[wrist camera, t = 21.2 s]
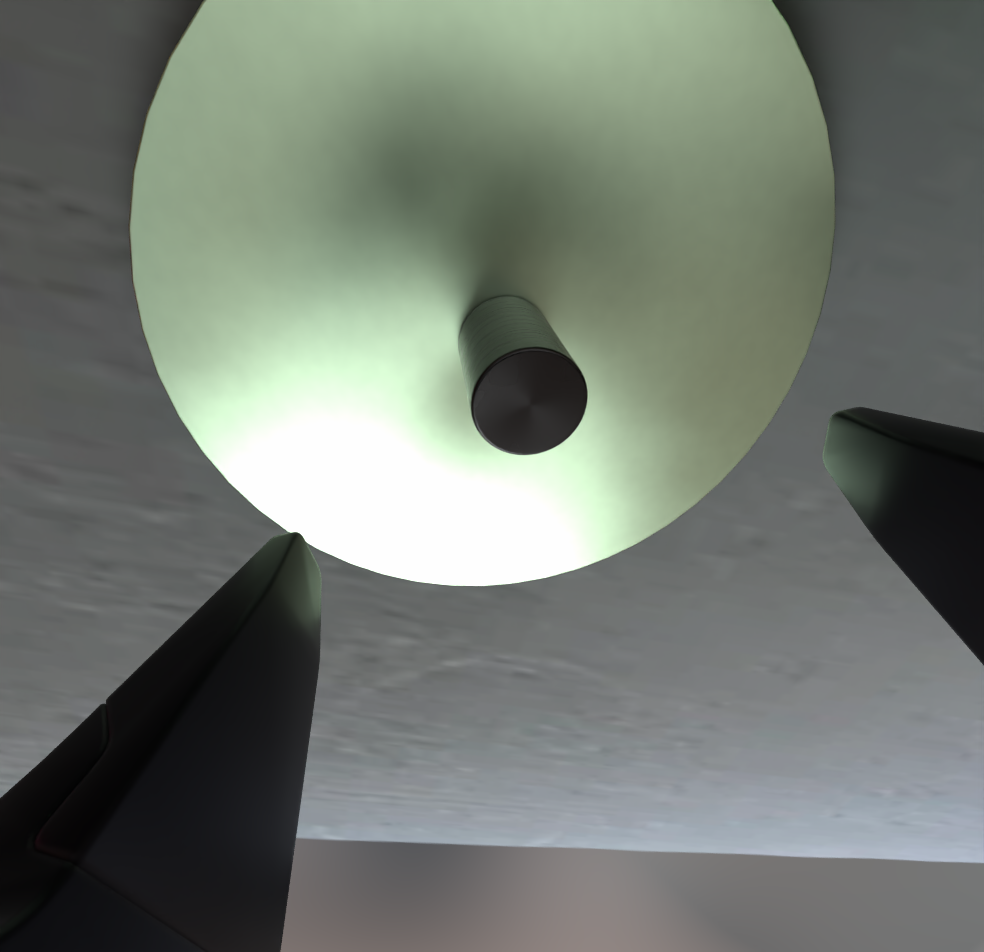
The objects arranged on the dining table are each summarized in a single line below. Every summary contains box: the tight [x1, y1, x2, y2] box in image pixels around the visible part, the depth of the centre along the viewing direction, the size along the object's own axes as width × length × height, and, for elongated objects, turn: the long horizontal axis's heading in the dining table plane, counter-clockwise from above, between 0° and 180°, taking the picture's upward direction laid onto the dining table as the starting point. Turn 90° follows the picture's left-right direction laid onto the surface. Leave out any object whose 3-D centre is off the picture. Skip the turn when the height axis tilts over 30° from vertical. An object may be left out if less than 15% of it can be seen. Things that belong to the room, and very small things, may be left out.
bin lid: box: [129, 0, 835, 586], centre depth 14 cm, size 19×19×5 cm
